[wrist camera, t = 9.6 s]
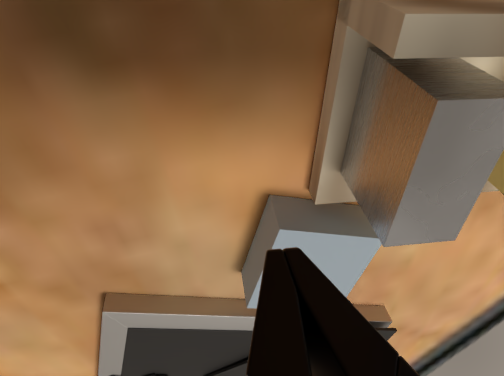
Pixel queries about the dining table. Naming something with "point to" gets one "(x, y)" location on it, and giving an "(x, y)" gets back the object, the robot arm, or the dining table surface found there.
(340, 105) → the shelf tray
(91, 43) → the dining table surface
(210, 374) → the picture frame
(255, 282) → the blue book lying
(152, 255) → the dining table surface
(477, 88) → the bookend
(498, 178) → the olive yellow block
